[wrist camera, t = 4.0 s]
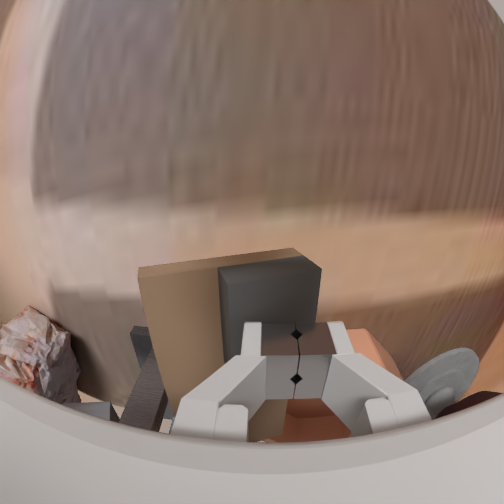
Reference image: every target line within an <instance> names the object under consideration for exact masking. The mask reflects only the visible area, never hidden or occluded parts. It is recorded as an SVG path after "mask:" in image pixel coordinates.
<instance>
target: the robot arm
mask: <svg viewBox="0 0 504 504" xmlns="http://www.w3.org/2000/svg"><path fill="white" fill-rule="evenodd" d="M293 395H294V399H310V398H322V401H323V402H324V403H325V404H326V405H327V406H328V407H329V408H330V409H331V410H332V411H333V412H334V414H335V415H336V416H337V417H338V418H339V419H340V420H341V421H342V422H343V423H344V424H345V425H346V426H347V427H348V428H349V429H350V430H351V431H352V432H351V434H350V436H349V438H341V439H332V440H322V441H308V442H284V443H259V442H249V430H248V421H249V420H250V419H251V418H252V416H253V415H254V414H255V413H256V411H257V410H258V409H259V408H260V406H261V405H262V404H263V402H264V401H265V400H269V399H293ZM0 504H504V393H502V394H500V395H498V396H496V397H493V398H491V399H489V400H486V401H484V402H482V403H479V404H477V405H474V406H472V407H469V408H466V409H464V410H461V411H458V412H455V413H452V414H449V415H446V416H443V417H440V418H437V419H434V420H432V419H431V417H430V415H429V413H428V410H427V408H426V406H425V404H424V402H423V400H422V398H421V396H420V394H419V392H418V390H417V389H415V388H414V387H412V386H410V385H409V384H407V383H406V382H404V381H402V380H401V379H399V378H398V377H396V376H395V375H393V374H392V373H390V372H388V371H387V370H385V369H384V368H382V367H381V366H379V365H378V364H376V363H374V362H373V361H371V360H370V359H368V358H367V357H365V356H364V355H362V354H361V353H355V351H354V348H353V346H352V343H351V341H350V338H349V336H348V333H347V331H346V328H345V326H344V324H343V322H342V321H334V322H323V323H275V322H262V334H261V322H245V323H244V330H243V338H242V347H241V355H235V356H234V357H233V358H232V359H230V360H229V361H228V362H227V363H226V364H224V365H223V366H222V367H221V368H219V369H218V370H217V371H216V372H215V373H213V374H212V375H211V376H210V377H208V378H207V379H206V380H204V381H203V382H202V383H201V384H199V385H198V386H197V387H196V388H194V389H193V390H192V391H190V392H189V393H188V394H186V395H185V396H184V397H183V398H181V401H180V404H179V408H178V411H177V414H176V417H175V421H174V424H173V427H172V431H171V434H166V433H161V432H156V431H151V430H146V429H141V428H137V427H133V426H129V425H125V424H121V423H117V422H113V421H110V420H106V419H103V418H99V417H96V416H93V415H90V414H87V413H84V412H81V411H78V410H75V409H72V408H70V407H67V406H64V405H62V404H59V403H57V402H54V401H52V400H49V399H47V398H45V397H42V396H40V395H38V394H35V393H33V392H31V391H29V390H27V389H25V388H23V387H21V386H19V385H17V384H15V383H13V382H11V381H9V380H7V379H5V378H3V377H1V376H0Z"/></svg>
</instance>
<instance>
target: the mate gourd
mask: <svg viewBox="0 0 504 504" xmlns="http://www.w3.org/2000/svg"><path fill="white" fill-rule="evenodd" d="M478 368H479V359H478V357H477V355H476V354H475V352H474V351H472V350H471V349H469V348H456V349H453V350H450V351H447V352H445V353H442V354H440V355H438V356H436V357H435V358H433V359H431V360H430V361H428V362H427V363H425V364H424V365H422V366H421V367H419V368H418V369H417V370H416V371H414V372H413V373H412V374H411V375H410V376H408V377H407V378H406V379H405V380H404V382H406V383H407V384H409V385H410V386H412V387H414V388H415V389H417V390H418V392H419V394H420V396H421V398H422V400H423V402H424V404H425V406H426V408H427V410H428V413H429V415H430V417H431V419H432V418H434V417H435V418H434V419H437V418H440V417H443V416H446V415H449V414H452V413H455V412H458V411H461V410H464V409H466V408H469V407H472V406H474V405H477V404H479V403H482V402H484V401H486V400H489V399H491V398H493V397H496V396H498V395H500V394H502V393H498V392H490V391H481V392H478V393H475V394H473V395H470V396H468V397H466V398H465V399H463V400H461V401H459V402H457V403H456V401H458V400H459V399H460V398H461V397H462V395H463V394H464V393H465V392H466V391H467V390H468V388H469V387H470V385H471V384H472V382H473V380H474V379H475V377H476V374H477V372H478ZM434 419H433V420H434Z"/></svg>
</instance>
